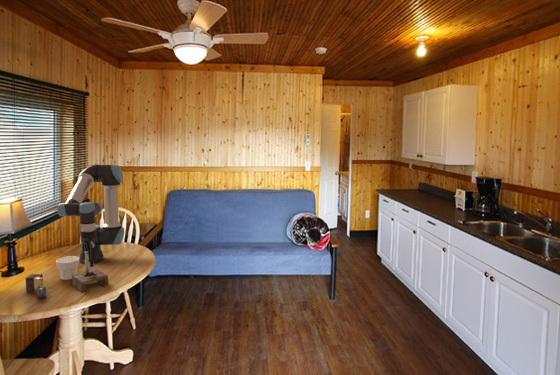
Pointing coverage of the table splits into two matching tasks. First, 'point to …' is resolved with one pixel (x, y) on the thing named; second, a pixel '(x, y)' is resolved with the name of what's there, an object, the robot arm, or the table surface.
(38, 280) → the medium pin
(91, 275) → the long pin
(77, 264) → the cup
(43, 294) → the short pin
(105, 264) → the table surface
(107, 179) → the robot arm
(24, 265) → the table surface
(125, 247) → the table surface
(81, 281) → the bracket
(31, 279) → the box
